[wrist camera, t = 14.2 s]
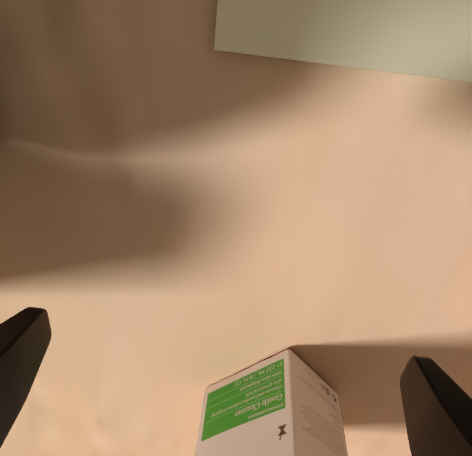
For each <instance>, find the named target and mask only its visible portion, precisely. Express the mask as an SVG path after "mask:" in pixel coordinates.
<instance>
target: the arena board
mask: <svg viewBox="0 0 472 456" xmlns="http://www.w3.org/2000/svg"><path fill="white" fill-rule="evenodd" d="M214 50H218V51H226V52H234V53H242V54H249V55H257V56H265V57H273V58H281V59H289V60H297V61H305V62H313V63H321V64H329V65H337V66H345V67H353V68H360V69H368V70H376V71H384V72H392V73H400V74H408V75H416V76H424V77H432V78H440V79H448V80H456V81H463V82H471V83H472V0H218V1H217V15H216V29H215V43H214Z"/></svg>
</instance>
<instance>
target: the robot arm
mask: <svg viewBox="0 0 472 456" xmlns="http://www.w3.org/2000/svg"><path fill="white" fill-rule="evenodd" d="M50 340H51V328H50V323H49V318H48V313H47V311H46V310H45V309H43V308H35V307H28V308H26V309H24V310H22V311H21V312H19V313H17V314H16V315H14V316H13V317H11V318H9V319H8V320H6V321H4V322H3V323H1V324H0V448H1V446H2V444H3V442H4V440H5V438H6V437H7V435H8V433H9V431H10V429H11V427H12V425H13V424H14V422H15V420H16V418H17V416H18V414H19V412H20V411H21V409H22V407H23V405H24V403H25V401H26V399H27V396H28V394H29V392H30V389H31V387H32V384H33V382H34V380H35V377H36V375H37V372H38V370H39V367H40V365H41V362H42V360H43V357H44V355H45V353H46V350H47V348H48V345H49V343H50ZM400 389H401V395H402V402H403V408H404V414H405V421H406V427H407V434H408V440H409V445H410V450H411V454H412V456H472V399H471V398H470V397H469V396H468V395H467V394H466V393H465V392H464V391H463V390H462V389H461V388H460V387H459V386H458V385H457V384H456V383H455V382H454V381H453V380H452V379H451V378H450V377H449V376H448V375H447V374H446V373H445V372H444V371H443V370H442V369H441V368H440V367H439V366H438V365H437V364H436V363H435V362H434V361H433V360H432V359H431V358H429V357H424V356H416V355H415V356H412V357H411V358H410V359H409V361H408V363H407V365H406V367H405V369H404V371H403V373H402V375H401V378H400Z"/></svg>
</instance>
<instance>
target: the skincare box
mask: <svg viewBox="0 0 472 456" xmlns="http://www.w3.org/2000/svg"><path fill="white" fill-rule="evenodd" d="M195 456H348V454H347V447H346V441H345V434H344V428H343V421H342V415H341V408H340V402H339V397H338V394H337V393H336V392H335V391H334V390H333V389H332V388H331V387H330V386H329V385H328V384H327V383H325V382H324V381H323V380H322V379H321V378H320V377H319V376H318V375H317V374H316V373H315V372H314V371H313V370H312V369H311V368H310V367H309V366H307V365H306V364H305V363H304V362H303V361H302V360H301V359H300V358H299V357H298V356H297V355H296V354H295V353H293V352H292V351H291V350H289V349H287V350H285V351H282V352H280V353H278V354H277V355H275V356H273V357H271V358H268V359H266V360H264V361H261V362H259V363H257V364H255V365H253V366H251V367H249V368H247V369H245V370H243V371H241V372H239V373H236V374H234V375H232V376H230V377H228V378H226V379H224V380H222V381H220V382H218V383H215V384H213V385H211V386H209V387H207V388H206V389H205V391H204V398H203V404H202V411H201V418H200V425H199V431H198V438H197V444H196V451H195Z"/></svg>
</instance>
